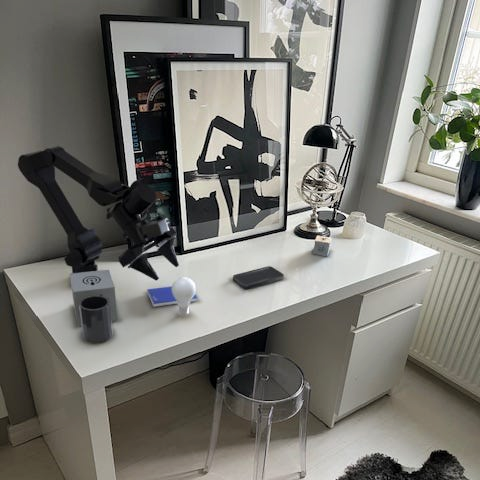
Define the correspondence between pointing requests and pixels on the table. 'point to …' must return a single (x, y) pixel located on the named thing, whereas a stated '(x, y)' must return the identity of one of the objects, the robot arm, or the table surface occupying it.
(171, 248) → the robot arm
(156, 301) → the hard drive
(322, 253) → the dice cube
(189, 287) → the lightbulb
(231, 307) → the table surface
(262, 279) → the phone
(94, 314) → the pen cup
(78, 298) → the icon cube
